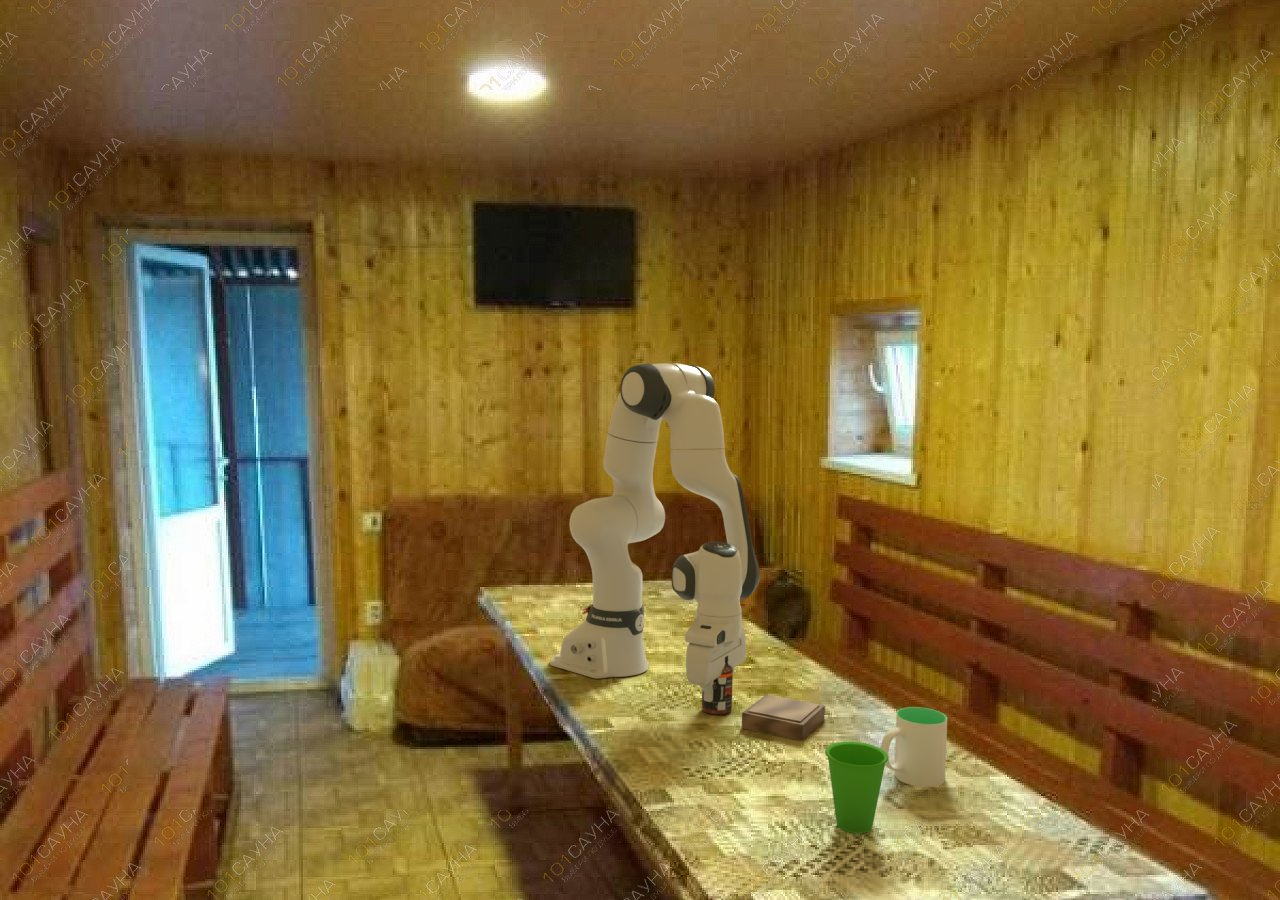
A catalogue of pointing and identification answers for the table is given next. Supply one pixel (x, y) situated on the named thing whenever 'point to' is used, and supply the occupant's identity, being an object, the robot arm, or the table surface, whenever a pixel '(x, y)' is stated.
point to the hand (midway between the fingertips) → (717, 695)
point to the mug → (918, 746)
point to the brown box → (783, 717)
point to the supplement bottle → (721, 693)
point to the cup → (855, 783)
